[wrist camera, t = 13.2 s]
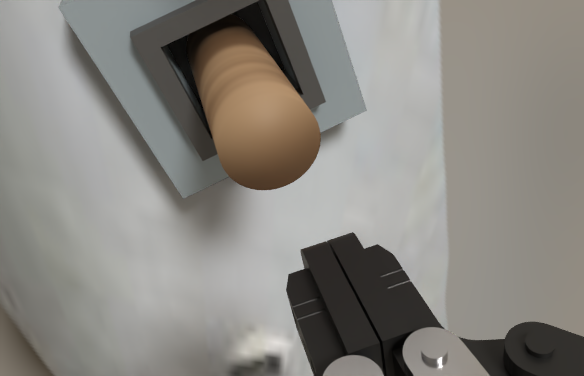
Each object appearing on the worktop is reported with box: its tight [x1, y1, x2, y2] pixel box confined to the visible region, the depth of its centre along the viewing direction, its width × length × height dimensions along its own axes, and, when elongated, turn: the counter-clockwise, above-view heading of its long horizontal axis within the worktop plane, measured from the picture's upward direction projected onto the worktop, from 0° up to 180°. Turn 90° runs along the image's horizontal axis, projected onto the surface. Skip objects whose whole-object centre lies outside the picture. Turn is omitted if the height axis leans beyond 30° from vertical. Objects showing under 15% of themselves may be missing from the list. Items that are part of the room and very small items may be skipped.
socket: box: [59, 0, 367, 199], centre depth 28 cm, size 12×12×4 cm
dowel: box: [186, 14, 321, 190], centre depth 25 cm, size 4×4×12 cm
